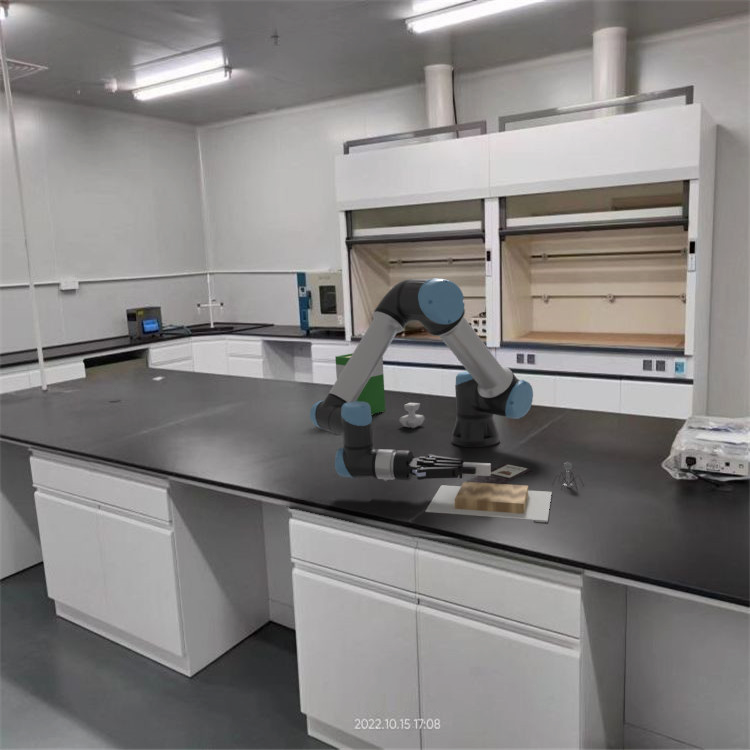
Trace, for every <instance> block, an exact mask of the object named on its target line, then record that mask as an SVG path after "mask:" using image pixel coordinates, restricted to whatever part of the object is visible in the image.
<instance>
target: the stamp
mask: <svg viewBox="0 0 750 750" xmlns="http://www.w3.org/2000/svg"><path fill="white" fill-rule="evenodd" d="M420 406H421V403H419V402H408V403H406V404H404V405H403V408H404V411H406V412H407V413H408V414H406V415H403V416H401V417H400V418H398V419H399V422H400V424H401V425H402V426H403V427H406V428H410V427H411V428H412V429H415V428H417V427H420V426H421V425H422V424H423V423H424V422H425V419H426V417H425V416H424V415H423V414H416V412H417V410H419V409H420Z"/></svg>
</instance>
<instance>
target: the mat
mask: <svg viewBox="0 0 750 750" xmlns="http://www.w3.org/2000/svg"><path fill="white" fill-rule="evenodd" d="M461 486H462V485H461ZM461 486H459V485H443V484H442V485H440V487H439V488H438V490H437V491H436V493H435V495H434V496H433V498H432V499H431V501H430V503H429V505H428V506H427V508H426V509H425V510H424V511H425V513H434V514H435V513H438V514H451V515H464V516H478V517H479V516H480V517H491V518H492V517H493V518H503V519H506V518H507V519H516V520H517V519H518V520H520V519H521V520H530V521H531V520H532V521H533V522H534V523H545V522H546V523H548V521H549V516H550V510H551V509H550V507H551V503H550V502H551V501H552V496H551V495H552V494H553V492H552V491H544V490H542V491H541V490H530V489H528V498H527V502H526V506H525V510H524V514H522V513H508V512H494V511H480V510H466V509H455V497H456V495H457V494H458V492H459V490H460V488H461ZM549 509H550V510H549Z"/></svg>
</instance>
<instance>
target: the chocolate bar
mask: <svg viewBox="0 0 750 750" xmlns="http://www.w3.org/2000/svg"><path fill="white" fill-rule="evenodd" d="M532 472H533V469H531V468H526V467H522V466H517V465H512V464H507V463H502V464H500V465H499V466H496V467H493V468H491V475H490V476H478V475H476V476H475V477H473V478H471V479H469V480H467V481H466V482H476V483H493V484H508V483H509V482H511V481H513V480H515V479H517V478H518V477H521V476H522V475H528V474H531V473H532Z"/></svg>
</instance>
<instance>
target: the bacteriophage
mask: <svg viewBox="0 0 750 750" xmlns="http://www.w3.org/2000/svg"><path fill="white" fill-rule="evenodd" d="M572 466H573V464H572V463H571V462H569V461H566V462H564V463H563V469H565V471H564V472H562V471H560V474H559V479H558V480H561V477H563V478H562V484H561V486H563V485H564V486H566V487H565V488H572V487H574V485H573V481H574V484H575V488H576V489H578V487H577V483H576V480H575V479H576V478H577V477H579V480H580V482H581V484H582V487H585V486H584V484H583V481H582V479H581V477H580V476H579V474H577V476H575V474H573V472H571V471H570V470H572ZM557 476H558V475H556V476H555V478H554V481H553V483H551V484H552V485H554V483H555V480H556V479H557ZM564 486H563V487H564ZM571 486H572V487H571ZM563 487H561V488H560V491H562V490H563Z"/></svg>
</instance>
